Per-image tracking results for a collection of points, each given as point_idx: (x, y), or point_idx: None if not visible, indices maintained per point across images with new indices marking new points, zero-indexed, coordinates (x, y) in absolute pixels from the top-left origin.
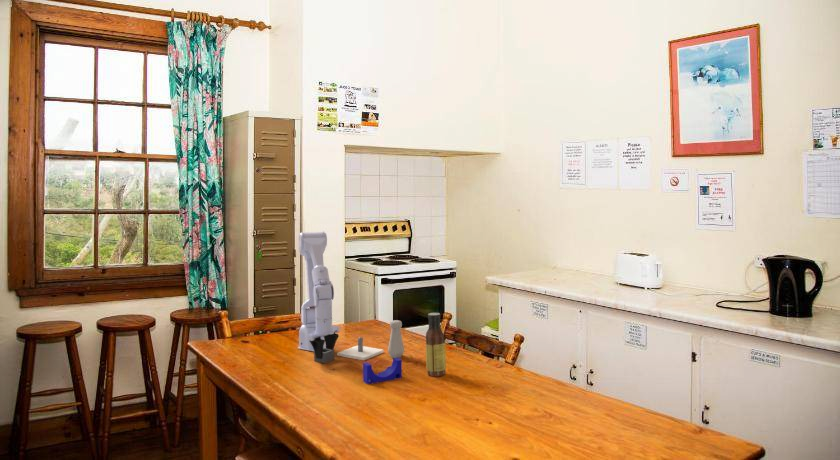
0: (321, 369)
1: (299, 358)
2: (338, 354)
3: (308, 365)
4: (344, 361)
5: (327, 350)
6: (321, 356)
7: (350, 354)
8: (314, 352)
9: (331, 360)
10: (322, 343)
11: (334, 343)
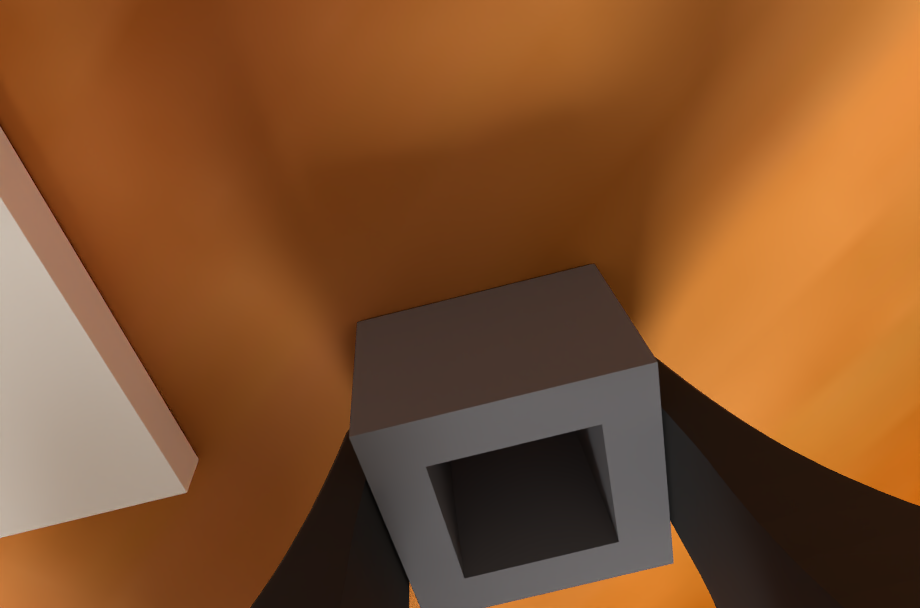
0: (890, 18)
1: (642, 604)
2: (181, 454)
3: (808, 341)
4: (268, 122)
5: (442, 507)
6: (661, 372)
7: (2, 285)
8: (663, 540)
9: (436, 305)
10: (880, 546)
11: (290, 589)
